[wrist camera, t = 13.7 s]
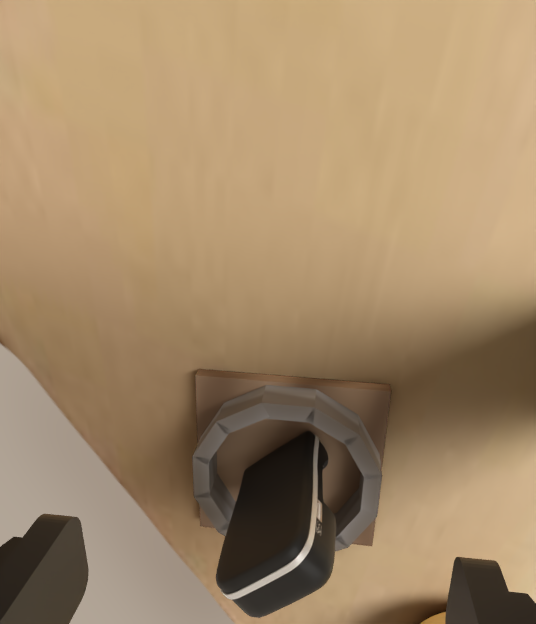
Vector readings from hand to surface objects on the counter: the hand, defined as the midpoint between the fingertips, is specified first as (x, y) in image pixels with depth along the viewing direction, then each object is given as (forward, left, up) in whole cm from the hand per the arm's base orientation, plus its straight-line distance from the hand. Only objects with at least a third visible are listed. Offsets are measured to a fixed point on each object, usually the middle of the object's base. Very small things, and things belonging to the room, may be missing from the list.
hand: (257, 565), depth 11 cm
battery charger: (+1, +16, -24) cm, 29 cm away
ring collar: (+1, +16, -25) cm, 30 cm away
